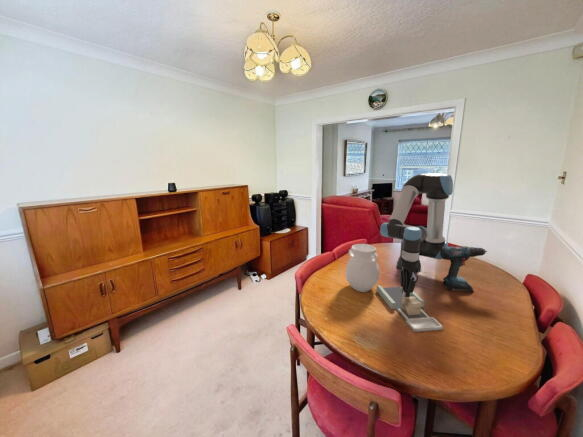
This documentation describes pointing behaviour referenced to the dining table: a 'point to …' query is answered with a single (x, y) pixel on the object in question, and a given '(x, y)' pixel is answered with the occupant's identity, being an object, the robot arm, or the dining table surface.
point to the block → (411, 305)
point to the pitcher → (362, 267)
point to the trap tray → (424, 324)
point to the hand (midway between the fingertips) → (405, 302)
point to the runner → (397, 296)
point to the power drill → (458, 266)
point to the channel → (391, 301)
